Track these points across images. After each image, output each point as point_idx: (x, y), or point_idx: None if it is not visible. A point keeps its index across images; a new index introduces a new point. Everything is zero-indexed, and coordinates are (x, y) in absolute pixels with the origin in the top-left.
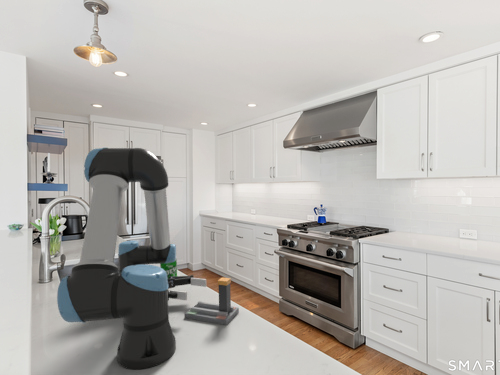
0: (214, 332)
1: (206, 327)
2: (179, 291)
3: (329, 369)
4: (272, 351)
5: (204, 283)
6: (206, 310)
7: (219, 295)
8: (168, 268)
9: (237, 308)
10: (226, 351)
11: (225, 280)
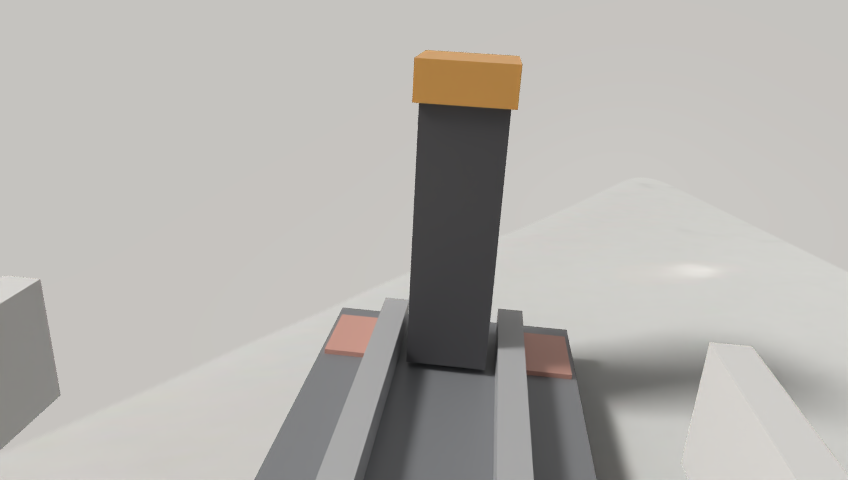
0: None
1: (672, 449)
2: (804, 436)
3: (663, 183)
4: (674, 238)
5: (38, 354)
6: (529, 421)
7: (499, 216)
8: None
9: (355, 310)
10: (811, 323)
11: (497, 56)
